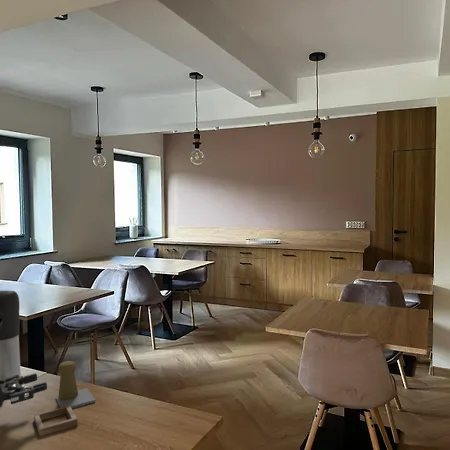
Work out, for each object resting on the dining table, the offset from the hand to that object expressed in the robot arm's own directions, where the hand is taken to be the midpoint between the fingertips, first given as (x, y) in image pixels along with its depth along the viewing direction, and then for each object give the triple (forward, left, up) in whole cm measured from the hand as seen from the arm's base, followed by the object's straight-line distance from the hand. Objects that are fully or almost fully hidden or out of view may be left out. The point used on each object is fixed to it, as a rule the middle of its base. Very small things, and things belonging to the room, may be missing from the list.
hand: (41, 381), depth 129 cm
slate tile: (-2, +10, -9) cm, 14 cm away
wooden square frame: (+9, +2, -9) cm, 13 cm away
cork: (-4, +8, -9) cm, 13 cm away
